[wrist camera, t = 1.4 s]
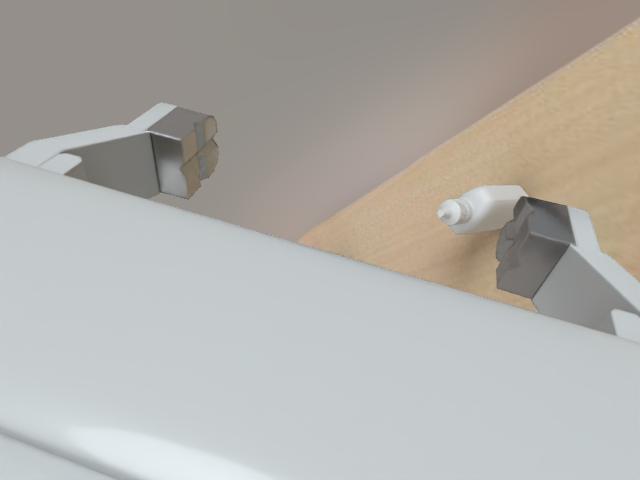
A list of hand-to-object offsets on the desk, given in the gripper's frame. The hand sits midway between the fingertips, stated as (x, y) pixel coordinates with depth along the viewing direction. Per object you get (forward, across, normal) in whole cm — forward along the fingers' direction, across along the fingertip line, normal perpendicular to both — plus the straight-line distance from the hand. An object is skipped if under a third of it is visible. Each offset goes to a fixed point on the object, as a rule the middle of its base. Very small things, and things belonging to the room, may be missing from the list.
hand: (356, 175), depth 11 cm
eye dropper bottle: (+32, -13, +20) cm, 41 cm away
